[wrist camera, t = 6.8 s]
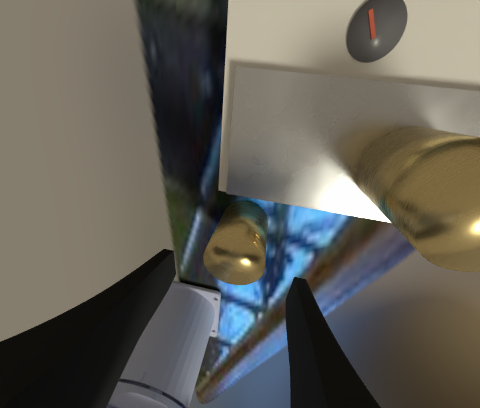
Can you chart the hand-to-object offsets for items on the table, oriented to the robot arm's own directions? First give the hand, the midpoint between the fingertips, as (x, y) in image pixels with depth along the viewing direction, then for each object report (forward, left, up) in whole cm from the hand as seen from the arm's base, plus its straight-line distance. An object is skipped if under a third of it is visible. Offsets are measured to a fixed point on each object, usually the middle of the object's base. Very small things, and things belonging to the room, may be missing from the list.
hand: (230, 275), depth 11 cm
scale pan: (+7, -4, -4) cm, 9 cm away
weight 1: (0, 0, -6) cm, 6 cm away
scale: (+8, -4, -6) cm, 11 cm away
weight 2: (+7, -8, -3) cm, 11 cm away
